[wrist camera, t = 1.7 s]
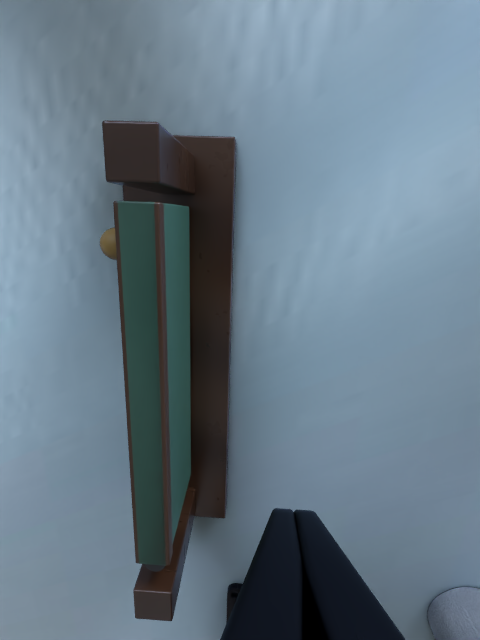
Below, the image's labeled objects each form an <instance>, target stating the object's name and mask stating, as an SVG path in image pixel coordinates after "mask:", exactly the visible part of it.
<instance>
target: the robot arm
mask: <svg viewBox="0 0 480 640" xmlns="http://www.w3.org/2000/svg"><path fill="white" fill-rule="evenodd" d="M220 640H405V638H404V637H403V636H402V634H401V633H400V631H399V630H398V629H397V627H396V626H395V624H394V623H393V621H392V620H391V619H390V617H389V616H388V614H387V613H386V612H385V610H384V609H383V607H382V606H381V605H380V603H379V602H378V600H377V599H376V597H375V596H374V595H373V593H372V592H371V590H370V589H369V588H368V586H367V585H366V583H365V582H364V581H363V579H362V578H361V576H360V575H359V574H358V572H357V571H356V569H355V568H354V566H353V565H352V564H351V562H350V561H349V559H348V558H347V557H346V555H345V554H344V552H343V551H342V550H341V548H340V547H339V545H338V544H337V542H336V541H335V540H334V538H333V537H332V535H331V534H330V533H329V531H328V530H327V528H326V527H325V526H324V524H323V523H322V521H321V520H320V518H319V517H318V516H317V514H316V513H315V512H314V511H310V510H295V511H294V512H293V511H292V510H291V509H279V508H275V509H274V510H273V511H272V513H271V516H270V518H269V520H268V523H267V525H266V528H265V530H264V533H263V535H262V538H261V540H260V543H259V545H258V548H257V550H256V553H255V555H254V557H253V560H252V562H251V565H250V567H249V570H248V572H247V575H246V577H245V580H244V582H243V584H238V583H233V584H231V585H229V586H228V593H227V623H226V627H225V629H224V632H223V634H222V636H221V639H220Z"/></svg>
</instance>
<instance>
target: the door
mask: <svg viewBox="0 0 480 640" xmlns="http://www.w3.org/2000/svg"><path fill="white" fill-rule="evenodd" d="M113 206H114V222H115V228H110V229H108V230H106V231H105V232H104V233H103V234H102V236H101V238H100V247H101V250H102V252H103V253H104V254H105V255H106V256H107V257H109V258H111V259H114V260H117V269H118V285H119V301H120V317H121V333H122V349H123V365H124V381H125V397H126V413H127V429H128V445H129V461H130V477H131V492H132V508H133V524H134V540H135V556H136V563H139V564H145V566H146V567H147V568H148V569H149V570H151V571H155V572H157V571H161V570H163V569H164V568H165V566H166V565H170V561H171V558H172V554H173V549H172V545H173V541H174V537H175V533H176V529H177V525H178V522H179V518H180V514H181V510H182V506H183V503H184V499H185V495H186V491H187V487H188V483H189V480H190V476H191V398H190V241H189V207H188V206H182V205H174V204H166V203H160V202H139V201H114V202H113Z"/></svg>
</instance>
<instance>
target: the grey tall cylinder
mask: <svg viewBox="0 0 480 640" xmlns="http://www.w3.org/2000/svg"><path fill="white" fill-rule="evenodd" d="M427 617H428V621H429V624H430V627H431V630H432V632H433V635H434V637H435V640H480V589H478V588H473V587H460V588H454V589H451V590H448V591H446V592H444V593H442V594H440V595H439V596H438V597H436V598H435V599H434V600H433V602H432V603H431V604H430V606H429V609H428V613H427Z"/></svg>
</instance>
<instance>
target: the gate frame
mask: <svg viewBox="0 0 480 640" xmlns="http://www.w3.org/2000/svg"><path fill="white" fill-rule="evenodd" d="M102 127H103V141H104V156H105V171H106V180H107V181H108V182H110V183H115V184H119V185H123V200H124V201H139V202H160V203H166V204H174V205H182V206H188V207H189V241H190V398H191V476H190V480H189V483H188V487H187V491H186V495H185V499H184V503H183V506H182V510H181V514H180V518H179V522H178V525H177V529H176V533H175V537H174V541H173V545H172V549H173V554H172V558H171V561H170V565H166V566H165V568H164V569H163V570H161V571H157V572H155V571H151V570H149V569H148V568H147V567H146V566H145V564H142V566H141V569H140V572H139V575H138V578H137V581H136V584H135V587H134V590H133V591H134V606H135V618H138V619H151V620H164V621H172V619H173V615H174V610H175V606H176V601H177V596H178V592H179V587H180V582H181V577H182V573H183V568H184V563H185V559H186V554H187V549H188V545H189V540H190V535H191V530H192V526H193V521H194V516H199V517H214V518H225V514H226V504H227V468H228V432H229V395H230V359H231V322H232V286H233V249H234V213H235V177H236V140H235V137H218V136H180V135H171V134H170V133H169V132H168V131H167V130H166V129H165V128H164V127H162V126H161V125H160V124H159V123H158V122H145V121H103V122H102Z"/></svg>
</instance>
